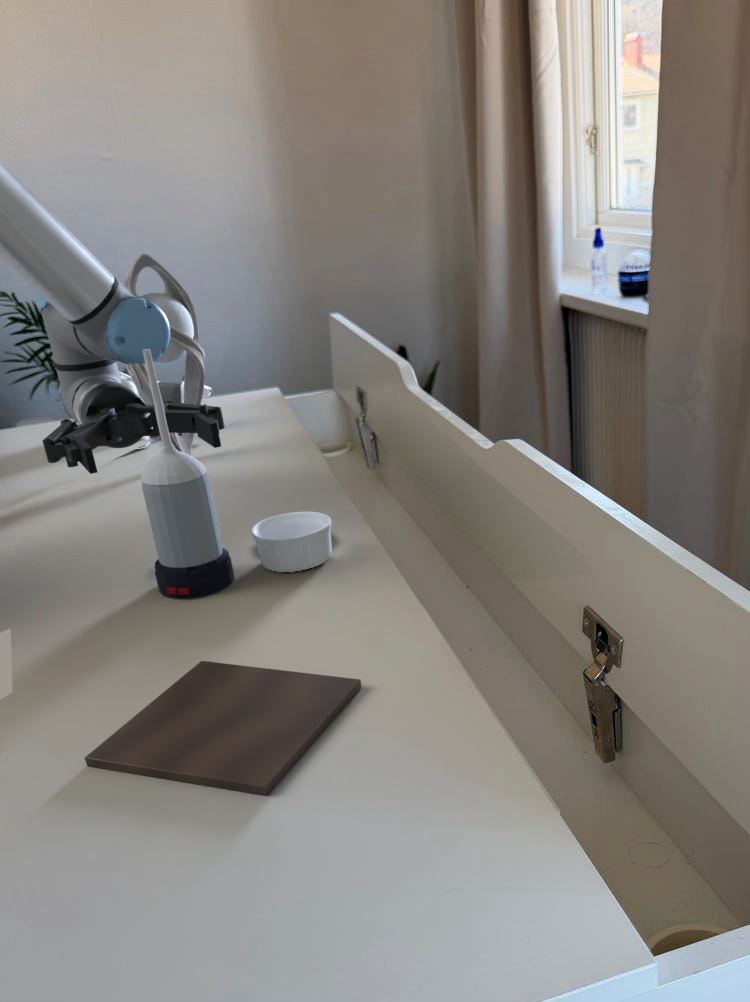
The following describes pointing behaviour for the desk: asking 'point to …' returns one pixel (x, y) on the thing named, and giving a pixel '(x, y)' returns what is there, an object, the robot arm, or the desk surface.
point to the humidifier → (182, 517)
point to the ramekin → (293, 541)
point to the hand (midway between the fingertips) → (155, 447)
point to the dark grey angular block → (177, 391)
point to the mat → (227, 726)
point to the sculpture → (172, 341)
